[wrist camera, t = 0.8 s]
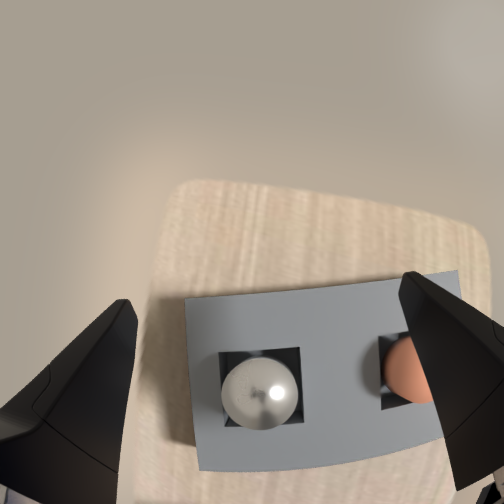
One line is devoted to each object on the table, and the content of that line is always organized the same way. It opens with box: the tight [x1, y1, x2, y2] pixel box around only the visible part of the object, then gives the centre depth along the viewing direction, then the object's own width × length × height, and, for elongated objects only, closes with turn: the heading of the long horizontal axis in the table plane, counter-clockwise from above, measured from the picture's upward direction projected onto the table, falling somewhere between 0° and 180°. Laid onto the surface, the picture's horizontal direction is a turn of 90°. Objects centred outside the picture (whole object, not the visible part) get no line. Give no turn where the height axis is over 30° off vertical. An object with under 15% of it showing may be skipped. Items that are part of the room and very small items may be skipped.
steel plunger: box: [221, 355, 298, 430], centre depth 16 cm, size 4×4×3 cm
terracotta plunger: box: [381, 336, 433, 404], centre depth 16 cm, size 4×4×3 cm
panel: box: [185, 270, 462, 472], centre depth 18 cm, size 12×19×4 cm, turn 94°
